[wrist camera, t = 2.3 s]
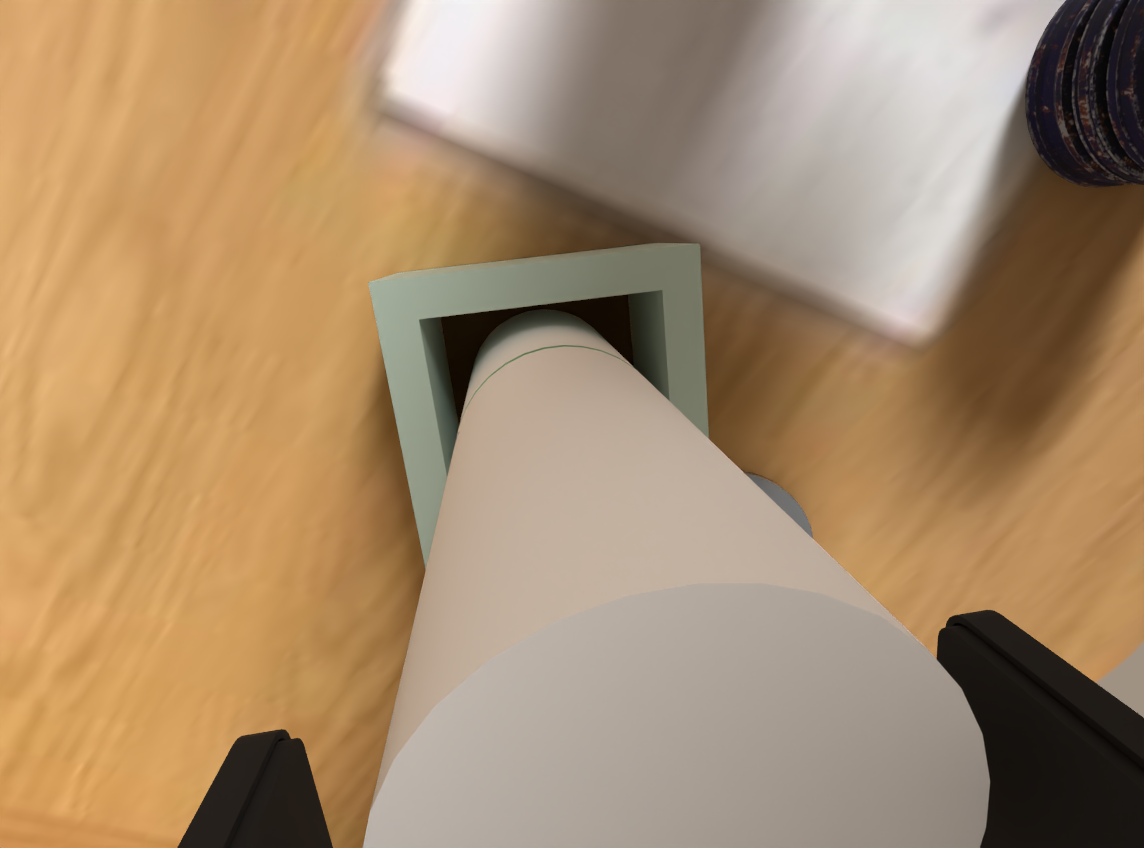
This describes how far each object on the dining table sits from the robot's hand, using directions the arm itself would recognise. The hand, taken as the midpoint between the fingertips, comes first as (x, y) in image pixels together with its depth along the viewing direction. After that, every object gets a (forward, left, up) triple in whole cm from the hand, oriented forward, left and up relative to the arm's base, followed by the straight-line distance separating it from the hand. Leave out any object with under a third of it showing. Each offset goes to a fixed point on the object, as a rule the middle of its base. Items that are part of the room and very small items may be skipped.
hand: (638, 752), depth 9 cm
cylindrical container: (0, 0, -23) cm, 23 cm away
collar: (0, 0, -23) cm, 23 cm away
